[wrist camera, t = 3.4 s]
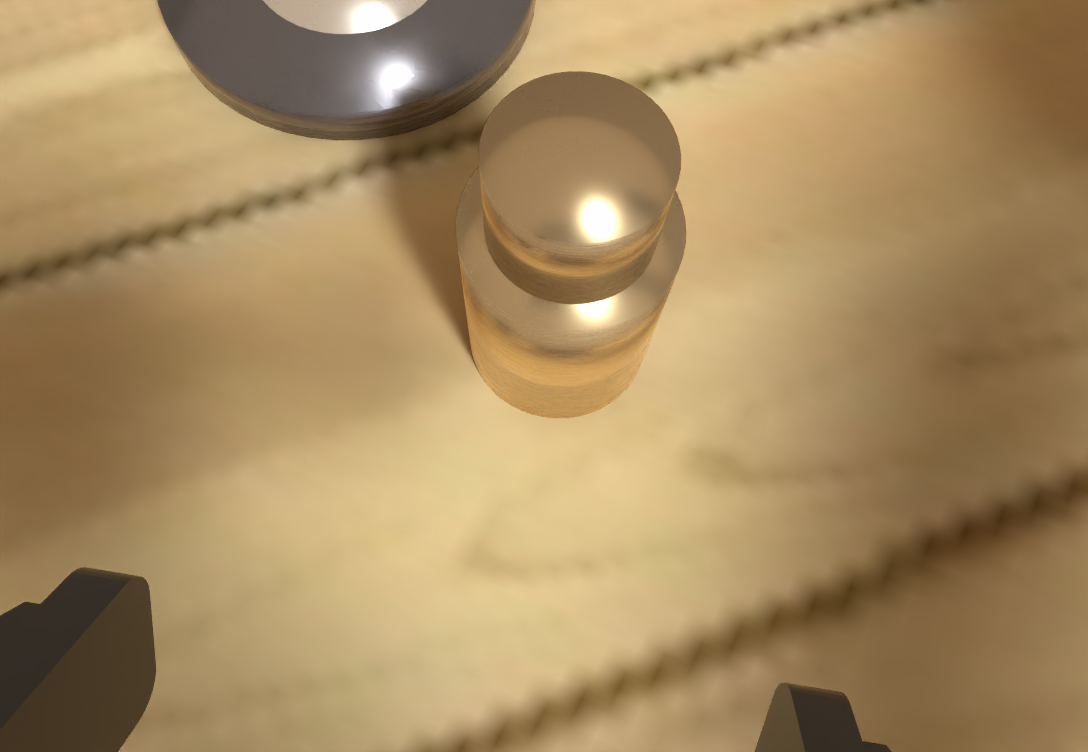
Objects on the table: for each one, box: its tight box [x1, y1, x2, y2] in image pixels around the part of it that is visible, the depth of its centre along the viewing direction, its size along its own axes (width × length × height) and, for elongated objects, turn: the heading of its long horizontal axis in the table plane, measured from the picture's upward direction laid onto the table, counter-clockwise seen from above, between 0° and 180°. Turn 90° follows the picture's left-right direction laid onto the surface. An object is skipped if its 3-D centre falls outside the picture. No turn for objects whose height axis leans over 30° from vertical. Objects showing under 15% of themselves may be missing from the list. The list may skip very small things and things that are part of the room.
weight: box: [456, 72, 686, 418], centre depth 23 cm, size 6×6×10 cm
